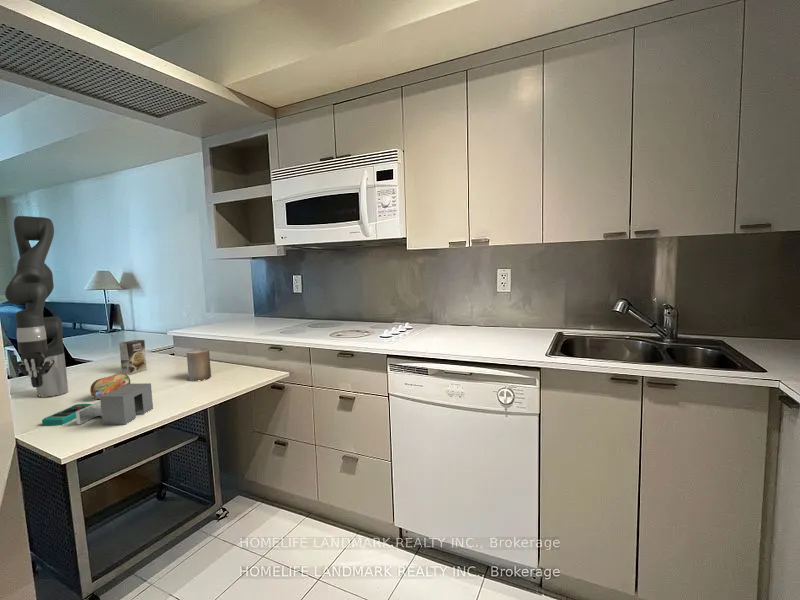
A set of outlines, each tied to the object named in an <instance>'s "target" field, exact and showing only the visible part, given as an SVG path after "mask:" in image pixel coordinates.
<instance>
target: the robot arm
mask: <svg viewBox="0 0 800 600" xmlns="http://www.w3.org/2000/svg"><path fill="white" fill-rule="evenodd" d="M13 230H14V236H15V241H16V244H17V250H18V255H19V259H18V261H17V265H16V266H17V267H16V272H15V274H14V276H13V277H12V279H11V281H10V282H8V285H7V286H6V288H5V291H4V296H5V299H6V300H7V301H8V302H9V303H11V304H16V305H17V304H25V309H22V310H19V311H17V312H16V313H15V321H16V323H15V324H16V340H17V349H18V354H19V355H21V356H20V359H19V361H15V363H14V365H15V366H16V367H17V369H18V370H19V371H20V372H21V373H22V374H23V375H24V377H27V376H28V377H29V378H30V382H31V386H32V387H33V388H35V390H36V396H37V395H40V396H43V397H42V398H48V397H47V396H53V397H56V396H55V395H58V396H61V395H60V394H62V395H64V394H63V393H65V394H66V392H67V393H68V392H69V386H68V377H67V367H66V359H65V358H66V357H65V350H64V348H65V347H64V340H63V336H64V335H63V323H62V320H61V319H62V318H60V317H59V316H49V317H48V316H45V317H44V308H45V304H46V300H47V299H48V298H49V296H50V295H51V294H52V292H53V290H54V287H55V284H54V276H53V272H52V270H51V268H50V267H49V266H48V265H47V264H46V263H45V262H46V259H47V257H48V253H49V251H50V248H51V245H52V242H53V240H54V239H53V238H54V235H55V227H54V223H53V221H52V220H51V219H50V218H49V217H48V218H47V217H42V216H27V215H26V216H25V215H16V216H15V218H14V220H13ZM30 241H35V242H37V243H36V244H35V245H33V246H31V243H30ZM51 339H52V341H51V342H49V343H48V340H51ZM40 396H39V397H40Z"/></svg>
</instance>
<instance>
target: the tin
mask: <svg viewBox="0 0 800 600" xmlns="http://www.w3.org/2000/svg"><path fill="white" fill-rule="evenodd" d="M128 384H131V378H130V376H129V375H127V374H122V373H114V374H111V375H107V376H106V377H105V376H104V377H102V378H98V379H95V381H93V382H92V384H91V385H90V388H89V389H90V390H89V392H90V395H91V396H92V397H93V398H94V399H98V400H100V396H102V395H105V394H107V393H109V392H112V391H114V390H116V389H119V388H121V387H123V386H126V385H128Z"/></svg>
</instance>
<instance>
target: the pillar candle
mask: <svg viewBox="0 0 800 600" xmlns="http://www.w3.org/2000/svg"><path fill="white" fill-rule="evenodd" d="M185 353H186V362H187V373H188V380H189V381H190V382H199V381H198V380H201V381H205V380H204V379H206V380H209V379H211V378H212V371H211V369H212V368H211V357H210V355H211V354H210V349H209V348H205V347H204V348H203V347H202V348H194V349H193V348H192V349H190V350H187V351H186V352H185ZM210 377H211V378H210ZM208 378H209V379H208Z"/></svg>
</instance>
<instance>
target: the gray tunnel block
mask: <svg viewBox="0 0 800 600" xmlns="http://www.w3.org/2000/svg"><path fill="white" fill-rule="evenodd" d="M152 392H153V391H152V383H147V382H146V383H143V382H142V383H130V384H128V385H126V386H123V387H121V388H119V389H116V390H114V391H112V392H109V393H107V394H105V395H102V396H100V399H99V401H100V403H101V413H102V416H101V421H102V426H120V425H121V426H125V425H128V424H129V422H130V423H131V422H133V421H135V420H136V419H137V415H145V414H144V413H146V412H147V413H149V412H151V411H152V410H151V409H153V410H154V406H153V405H154V403H153V402H154V401H153V394H152ZM150 410H151V411H150ZM148 411H149V412H148ZM147 413H146V414H147ZM135 418H136V419H135ZM134 419H135V420H134ZM132 420H133V421H132ZM127 423H128V424H127Z"/></svg>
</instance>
